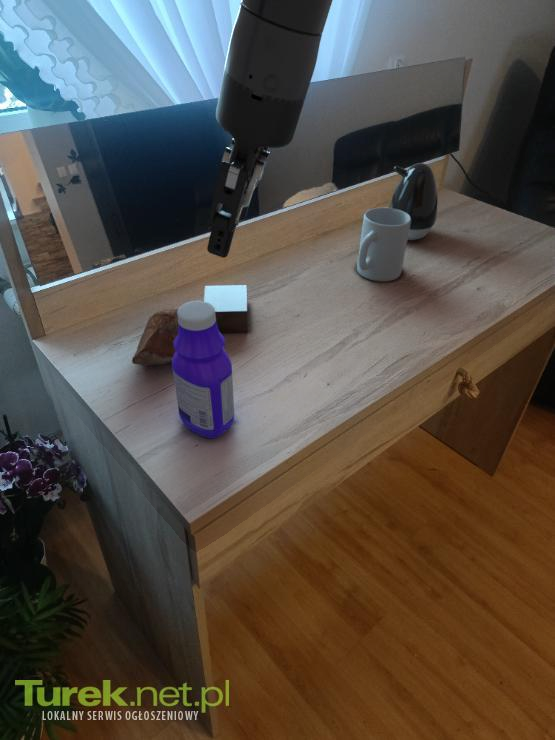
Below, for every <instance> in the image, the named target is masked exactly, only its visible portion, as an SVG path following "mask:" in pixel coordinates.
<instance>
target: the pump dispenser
mask: <svg viewBox="0 0 555 740" xmlns="http://www.w3.org/2000/svg"><path fill="white" fill-rule="evenodd" d="M393 171H394V172H395V173H396V174H398V175H399V176H401V179H400V180H399V182H398V184H397V186H395V187H396V188H395V190H394V192H393V194H392V197H391V199H390V203H389V206H388V208H394V209H398V210H401V211H404V212H406V213H407V214H408V215H409V216H410V217H411V224H410V229H409V234H408V239H407V241H416V240H420V239H423V238H424V237H426V235H428V234H429V233H430V231H431V230H432V227H433V226H434V225H435V224H436V221H437V213H438V187H437V182H436V181H437V180H436V176H435V174H434V171H433V169H432V167H431V166H430V165H428V164H426V163H423V162H417V163H414V164H412V165H410V167H408V169H405V168H403V167H401V166H399V165H395V166H394V167H393Z"/></svg>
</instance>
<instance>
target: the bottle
mask: <svg viewBox="0 0 555 740" xmlns="http://www.w3.org/2000/svg"><path fill="white" fill-rule="evenodd" d="M177 309H178V312H177V315H178V335H177V337H176V338H175V340H174V348H175V350H176V352H175V354H174V356H173V359H172V363H171V368H172V375H173V381H174V388H175V394H176V400H177V401H176V402H177V409H178V415H179V418H180V420H181V421H182V423H183V424H184V425H185V427H186V428H187V429H189V430H190V431H191V432H193V433H195V434H196V435H199V436H201V437H204V438H206V439H215V438H217V437H219V436H221V435H223V434H224V433H225V432H226V431H227V430H229V428H230V427H231V426H232V424H233V422H234V419H235V400H234V399H235V398H234V382H233V381H234V380H233V379H234V378H233V366H232V361H231V359H230V356H229V355H228V353H227V351H226V350H225V346H226V340H225V337H224V336H223V334H222V332H219V330H218V327H217V323H216V315H215V308H214V307H213V306H212V305H211V304H210V303H207V302H204V300H192V301H187V302H185V303H183V304H181V305H180V306H179V307H178V308H177Z"/></svg>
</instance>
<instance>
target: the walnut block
mask: <svg viewBox="0 0 555 740" xmlns="http://www.w3.org/2000/svg"><path fill="white" fill-rule="evenodd" d="M203 301H204V302H207V303H210V304H211V305H212V306H213V307H214V308H215V315H216V323H217V327H218V330H219V332H220V333H248V332H249V316H248V314H249V313H248V311H249V310H248V285H247V284H235V285H233V284H230V285H229V284H228V285H205V286H204V293H203Z"/></svg>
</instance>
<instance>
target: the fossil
mask: <svg viewBox="0 0 555 740" xmlns="http://www.w3.org/2000/svg"><path fill="white" fill-rule="evenodd" d="M178 309H179V308H164V309H161V310H157V311H155V312H154V313H153V314H152V315H151V316H150V318H149V319H148V320H147V323H146V325H145V327H144V329H143V333H142V334H141V337H140V339H139V342H138V344H137V347H136V351H135V353H134V355H133V357H132V360H131V363H132V364H133V365H142V366H144V365H145V366H151V365H152V366H153V365H154V366H155V365H168V364H172V359H173V356H174V354H175V352H176V350H175V348H174V340H175V338H176V337H177V335H178V315H177V312H178Z"/></svg>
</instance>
